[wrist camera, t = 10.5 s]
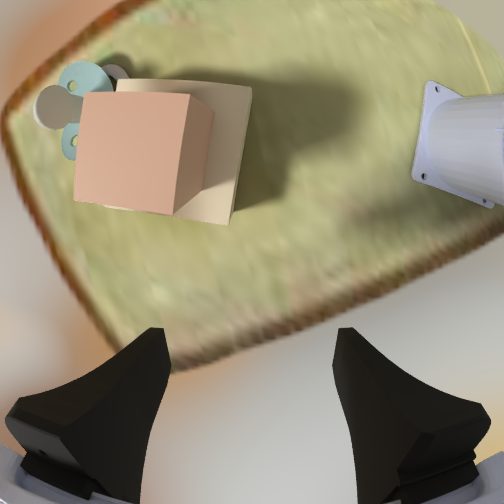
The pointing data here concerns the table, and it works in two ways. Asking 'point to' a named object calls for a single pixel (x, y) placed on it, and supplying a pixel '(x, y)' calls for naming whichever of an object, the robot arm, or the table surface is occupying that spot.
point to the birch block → (210, 143)
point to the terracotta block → (141, 150)
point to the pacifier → (72, 99)
